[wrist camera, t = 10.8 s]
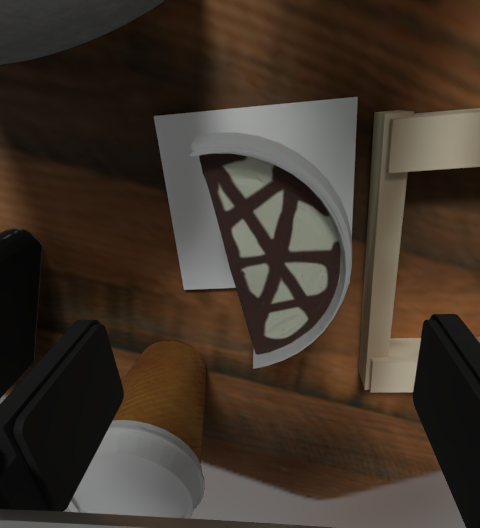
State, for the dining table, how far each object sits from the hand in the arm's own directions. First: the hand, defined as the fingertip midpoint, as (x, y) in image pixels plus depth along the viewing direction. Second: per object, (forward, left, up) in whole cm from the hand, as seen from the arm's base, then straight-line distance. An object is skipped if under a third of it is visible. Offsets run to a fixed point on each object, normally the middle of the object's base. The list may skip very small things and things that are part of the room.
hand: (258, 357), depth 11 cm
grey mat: (+1, 0, -17) cm, 17 cm away
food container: (-1, 0, -17) cm, 17 cm away
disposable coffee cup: (+10, +15, -17) cm, 25 cm away
